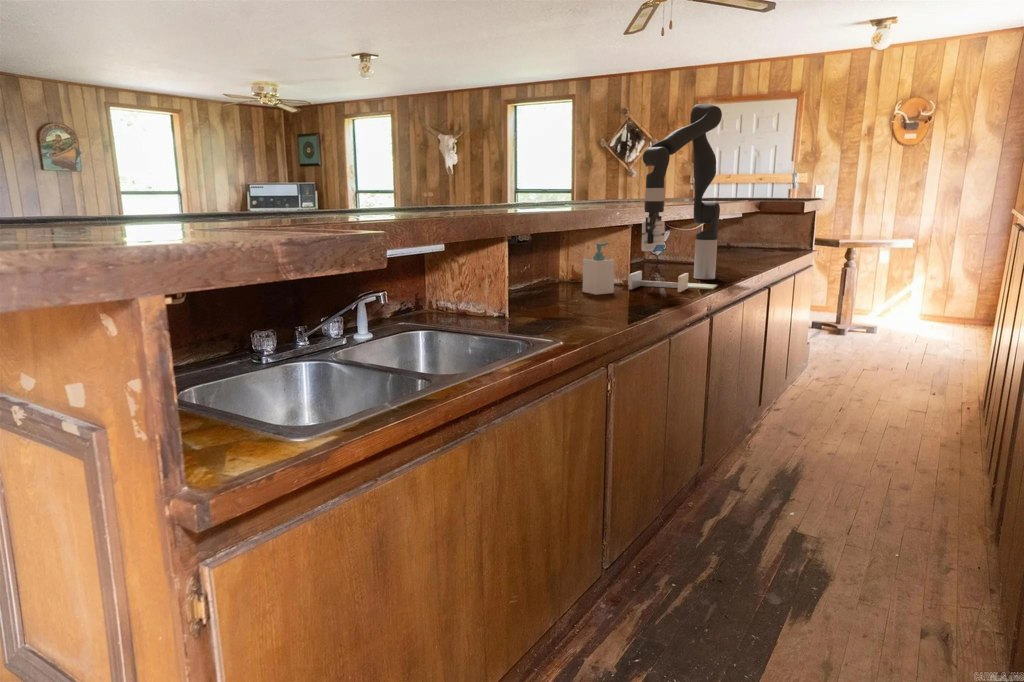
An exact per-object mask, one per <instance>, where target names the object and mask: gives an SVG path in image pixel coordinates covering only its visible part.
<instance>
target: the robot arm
mask: <svg viewBox="0 0 1024 682" xmlns="http://www.w3.org/2000/svg"><path fill="white" fill-rule="evenodd" d="M722 113H723V112H722V109H721V107H719V106H717V105H713V104H705V103H698V104H695V105H694V106H693V107H692V109H691V113H690V117H689V118H690V124H688V125H686V126H682V127H680V128H678V129H676V130H674V131H672V132H671V133H669V135H667V136H666V137H665V138H664V139H662V140H660V141H658V142H655V143H653V144H652V145H650V146H649V147H647V148H646V149H645V151H644V152H643V154H642V162H643V163H644V164H645V166H649V167H653V169H652V171H651V172H649V173H647V174H646V177H645V191H644V207H643V208H644V209H643V211H644V210H645V211H644V213H648V216H646V217H645V221H646V232H647V234H648V239H647V243H648V244H652V243H653V238H654V229H656V222H657V221H662V217H663V216H662V215H660V213H664V211H665V210H664V209H665V176H666V174H667V171H668V167H669V164H670V156H671V155H674V154H676V153H677V152H678V151H680V150H681V149H682V148H684V146H686V145H688V143H690V142H692V148H693V149H692V150H693V155H692V156H693V160H692V162H693V185H694V188H693V189H694V190H693V191H694V192H693V193H694V195H693V221H694V222H695V223H696V224H703V225H704V224H705V225H706V224H707V225H708V224H710V226H709V227H708V228H706V229H704V230H701V231H699V232H696V234H695V246H694V263H693V267H694V268H693V278H694V279H696V280H697V279H698V280H715V279H716V270H717V269H716V267H717V255H718V254H717V252H718V236H719V235H718V234H719V222H720V215H721V213H720V212H721V206H720V204H719V202H717V201H711V202H710V201H707V202H706V201H703V197H704V194H705V193H706V191H707V189H708V187H709V186H710V184H711V183H712V182H713V180H714V179H715V177H716V175H717V157H716V154H715V152H714V150H713V148H712V146H711V144H710V143H709V141H708V137H707V133H708V132H710V131H712V130H714V129H716V128H717V127H718V126H719V124H720V123H721V121H722V118H723V117H722V116H723V115H722ZM653 225H654V226H653ZM650 228H651V229H650Z"/></svg>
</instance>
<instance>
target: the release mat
mask: <svg viewBox="0 0 1024 682" xmlns="http://www.w3.org/2000/svg"><path fill="white" fill-rule="evenodd" d="M717 287H718V284H708V283H694V282H693V283H692V282H688V288H687V289H698V288H699V289H701V290H714V289H715V288H717Z"/></svg>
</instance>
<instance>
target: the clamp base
mask: <svg viewBox="0 0 1024 682" xmlns="http://www.w3.org/2000/svg"><path fill="white" fill-rule="evenodd" d="M642 279H643V270H638V271H635V272H632V273H630V274H629V275H628V290H634V289H636V288H638V287H656V288H670V289H671V288H672V289H678V282H673V281H672V282H671V281H655V280H642Z"/></svg>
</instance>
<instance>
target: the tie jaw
mask: <svg viewBox="0 0 1024 682" xmlns="http://www.w3.org/2000/svg"><path fill="white" fill-rule="evenodd" d="M677 279H678V280H677V283H678V288H677V292H678V293H682V292H684V291H686V289H689V288H688V283H689V272H684V273H682V274H680V275H679V276H678V277H677Z"/></svg>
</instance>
